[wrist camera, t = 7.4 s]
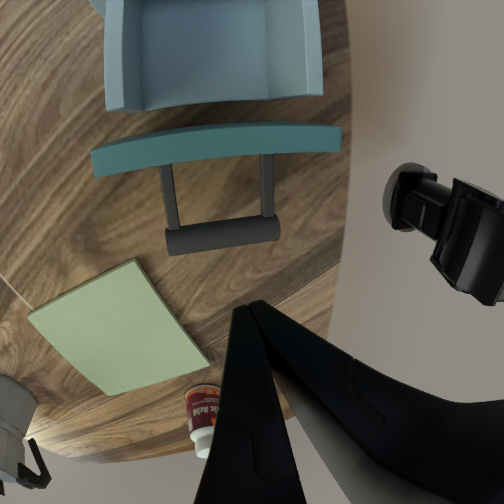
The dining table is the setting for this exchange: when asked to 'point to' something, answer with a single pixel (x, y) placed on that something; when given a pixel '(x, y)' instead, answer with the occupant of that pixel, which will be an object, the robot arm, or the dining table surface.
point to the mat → (119, 331)
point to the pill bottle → (202, 416)
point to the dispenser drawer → (212, 96)
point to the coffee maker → (18, 437)
